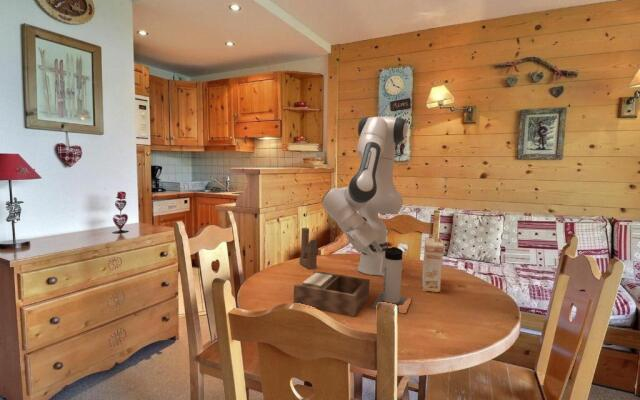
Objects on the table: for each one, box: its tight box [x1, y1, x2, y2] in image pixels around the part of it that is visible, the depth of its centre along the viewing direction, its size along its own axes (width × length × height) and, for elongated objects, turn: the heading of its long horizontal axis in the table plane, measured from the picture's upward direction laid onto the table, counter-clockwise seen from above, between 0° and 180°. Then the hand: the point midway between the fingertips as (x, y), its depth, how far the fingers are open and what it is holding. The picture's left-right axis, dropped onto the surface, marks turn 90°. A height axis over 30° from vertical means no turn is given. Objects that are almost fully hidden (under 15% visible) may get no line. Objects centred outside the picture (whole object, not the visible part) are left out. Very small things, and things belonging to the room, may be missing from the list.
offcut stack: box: [302, 273, 332, 289], centre depth 135 cm, size 8×13×8 cm, turn 159°
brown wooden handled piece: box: [299, 227, 318, 270], centre depth 173 cm, size 4×11×18 cm, turn 32°
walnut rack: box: [293, 270, 371, 317], centre depth 132 cm, size 23×19×7 cm
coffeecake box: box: [421, 237, 445, 292], centre depth 151 cm, size 15×7×20 cm, turn 164°
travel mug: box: [382, 246, 404, 305], centre depth 130 cm, size 6×7×20 cm
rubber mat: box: [371, 292, 409, 312], centre depth 131 cm, size 14×12×1 cm
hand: (377, 254), depth 132 cm, fingers open, 8 cm apart
